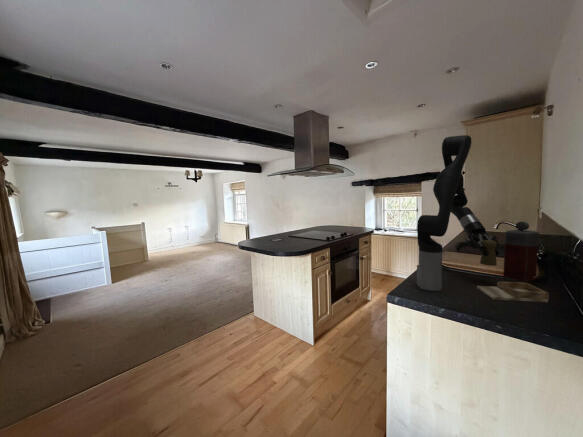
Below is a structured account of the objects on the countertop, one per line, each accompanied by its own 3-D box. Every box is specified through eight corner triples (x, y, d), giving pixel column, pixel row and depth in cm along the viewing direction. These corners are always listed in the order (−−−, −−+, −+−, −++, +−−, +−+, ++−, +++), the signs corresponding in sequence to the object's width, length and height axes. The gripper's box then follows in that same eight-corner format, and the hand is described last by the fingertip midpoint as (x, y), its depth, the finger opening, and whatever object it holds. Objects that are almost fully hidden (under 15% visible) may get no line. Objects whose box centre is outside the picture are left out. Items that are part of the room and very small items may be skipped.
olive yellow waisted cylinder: (500, 266, 105) (501, 241, 104) (484, 265, 106) (485, 241, 105) (491, 262, 110) (492, 239, 110) (476, 261, 112) (478, 239, 111)
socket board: (493, 299, 94) (494, 290, 94) (476, 288, 105) (477, 280, 105) (549, 302, 90) (550, 293, 90) (525, 290, 102) (526, 282, 101)
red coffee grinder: (538, 278, 115) (542, 221, 112) (525, 281, 111) (529, 223, 109) (516, 272, 123) (519, 220, 121) (503, 276, 119) (505, 221, 117)
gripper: (462, 220, 114) (482, 251, 103) (490, 220, 114) (513, 250, 103) (453, 230, 119) (472, 259, 108) (480, 229, 120) (501, 259, 109)
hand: (492, 255), depth 106 cm, fingers closed on olive yellow waisted cylinder, 4 cm apart
